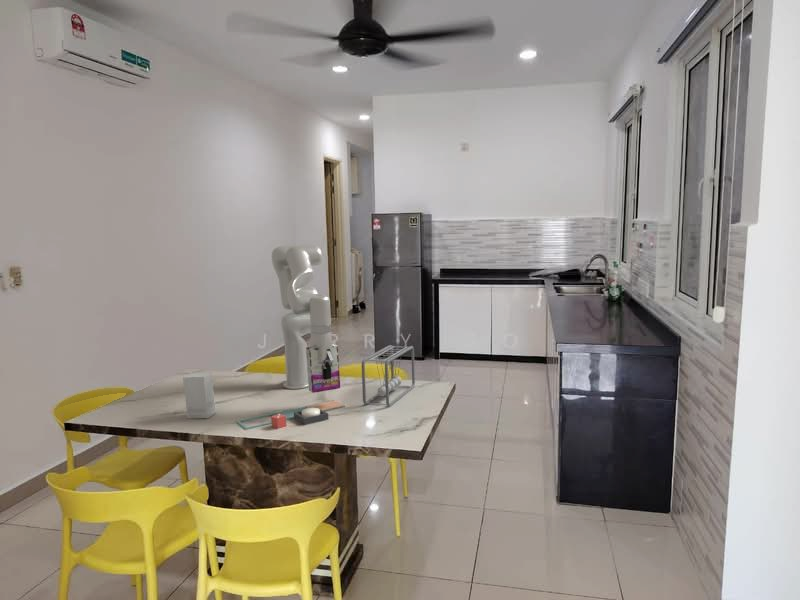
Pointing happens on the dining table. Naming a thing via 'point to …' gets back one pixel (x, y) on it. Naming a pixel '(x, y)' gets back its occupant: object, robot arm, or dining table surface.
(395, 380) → the newton's cradle
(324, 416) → the frame
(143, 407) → the dining table surface
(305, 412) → the popper cap
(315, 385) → the candy bar box
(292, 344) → the robot arm
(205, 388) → the skincare box
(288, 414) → the track
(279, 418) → the red die
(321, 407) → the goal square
